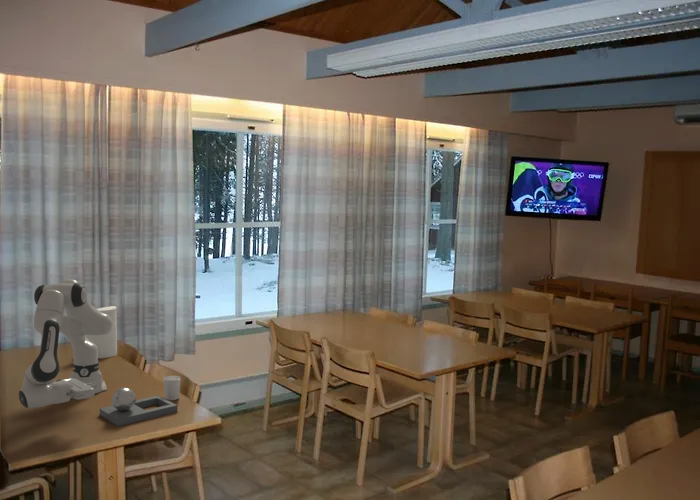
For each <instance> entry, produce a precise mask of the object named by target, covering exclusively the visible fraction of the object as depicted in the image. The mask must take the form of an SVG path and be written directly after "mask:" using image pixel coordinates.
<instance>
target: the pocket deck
mask: <svg viewBox="0 0 700 500" xmlns="http://www.w3.org/2000/svg"><path fill="white" fill-rule="evenodd" d="M156 405H158V407H154V408H149V409H146V410H145V409H144V408H146V407H151V406H156ZM177 412H178V404H176V403H173V402H172V401H171V400H166V399H165V397H161V396H160V395H154V396H149V397H146V398H141V399H136V401H135V404H134V405H133V407H132V408H130V409H129V410H126V411H120V410H117V409H116V408H115V407H114V406H113V405H109V406H106V407H105V406H104V407H101V408H99V416H100V417H102V418H104V419H105V420H107V421H109V422H110V423H112V424H113V425H115V426H117V427H121V426H125V425H129V424H133V423H137V422H141V421H145V420H150V419H154V418H157V417H162V416H166V415H170V414H174V413H177Z"/></svg>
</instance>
